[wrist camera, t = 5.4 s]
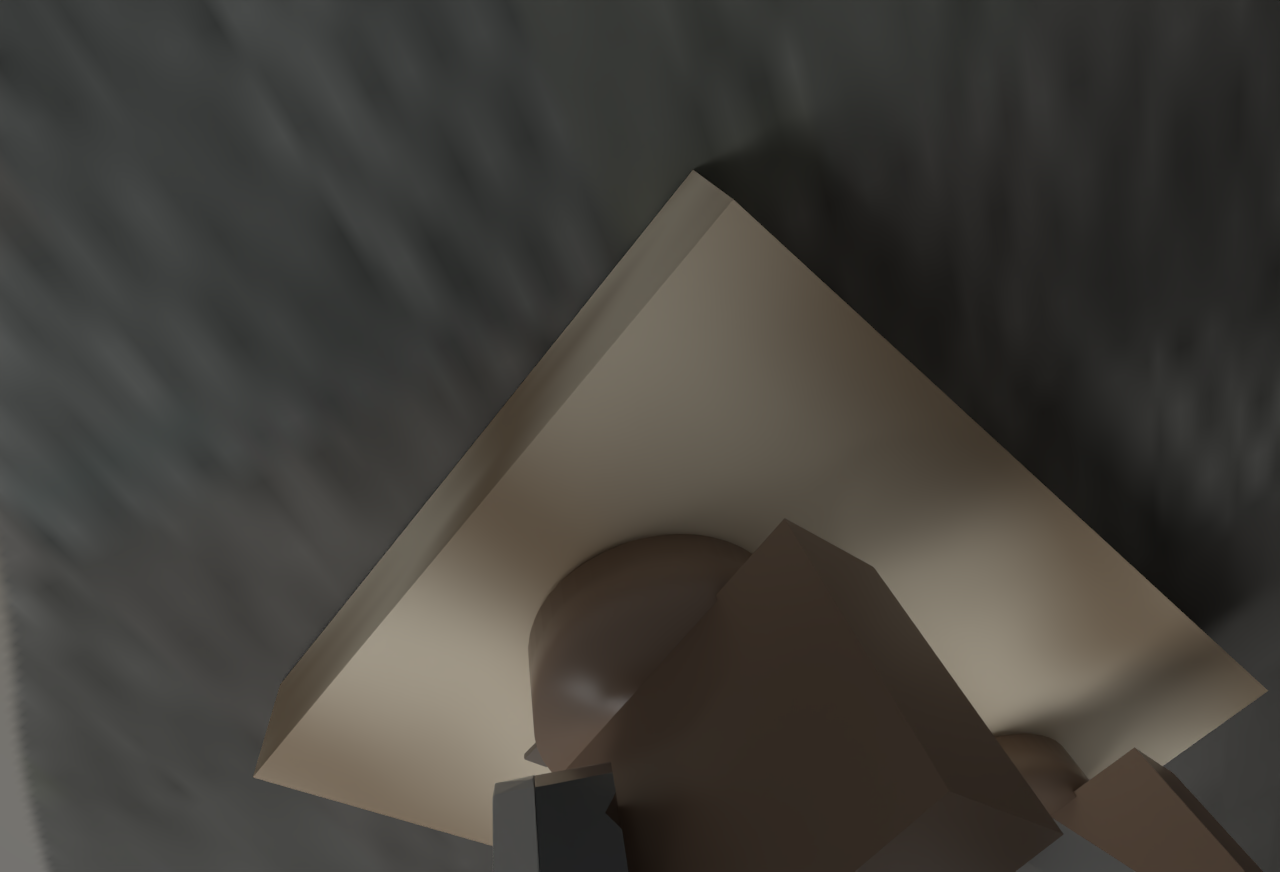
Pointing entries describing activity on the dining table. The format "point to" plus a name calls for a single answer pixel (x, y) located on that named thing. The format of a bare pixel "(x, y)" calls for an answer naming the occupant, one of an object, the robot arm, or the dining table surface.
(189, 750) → the dining table surface
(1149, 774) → the knob far
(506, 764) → the control panel
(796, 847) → the knob near
